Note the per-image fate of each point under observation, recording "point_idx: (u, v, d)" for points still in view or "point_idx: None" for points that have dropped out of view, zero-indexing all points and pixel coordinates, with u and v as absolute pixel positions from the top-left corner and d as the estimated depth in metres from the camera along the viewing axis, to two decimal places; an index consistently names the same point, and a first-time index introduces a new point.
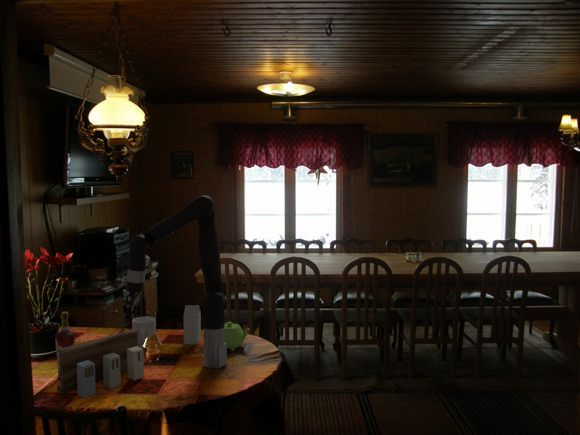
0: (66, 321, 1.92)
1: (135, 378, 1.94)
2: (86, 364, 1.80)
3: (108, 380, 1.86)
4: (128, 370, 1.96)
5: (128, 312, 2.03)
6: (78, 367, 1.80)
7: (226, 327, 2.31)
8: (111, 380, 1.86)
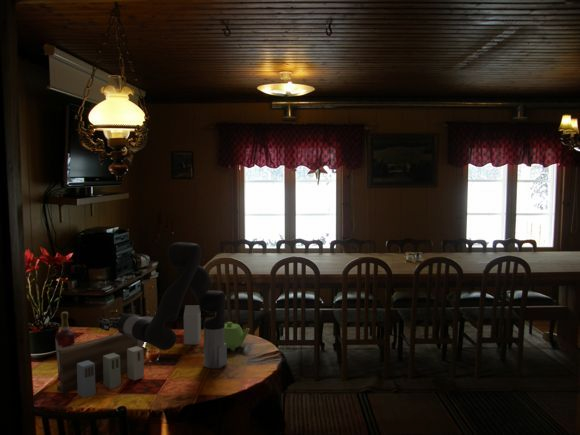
0: (66, 321, 1.92)
1: (135, 378, 1.94)
2: (86, 364, 1.80)
3: (108, 380, 1.86)
4: (128, 370, 1.96)
5: None
6: (78, 367, 1.80)
7: (226, 327, 2.31)
8: (111, 380, 1.86)
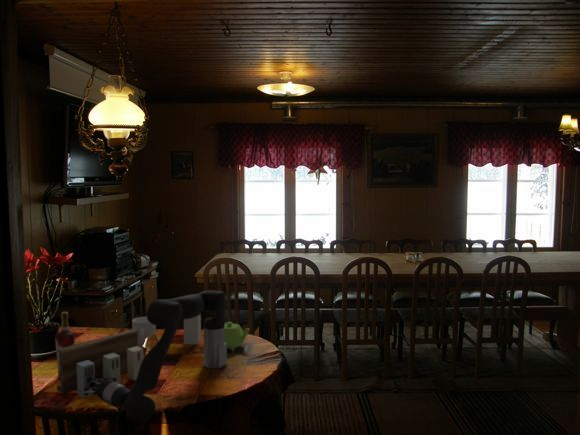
0: (66, 321, 1.92)
1: (135, 378, 1.94)
2: (86, 363, 1.80)
3: None
4: (128, 370, 1.96)
5: None
6: (78, 367, 1.80)
7: (226, 327, 2.31)
8: None
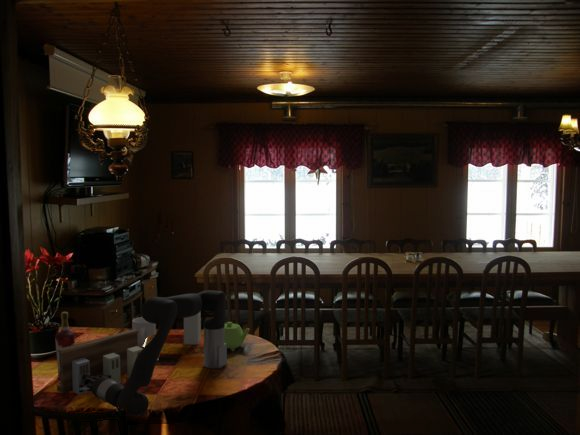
0: (66, 321, 1.92)
1: None
2: (81, 361, 1.82)
3: None
4: (128, 370, 1.96)
5: None
6: (73, 364, 1.82)
7: (226, 327, 2.31)
8: None
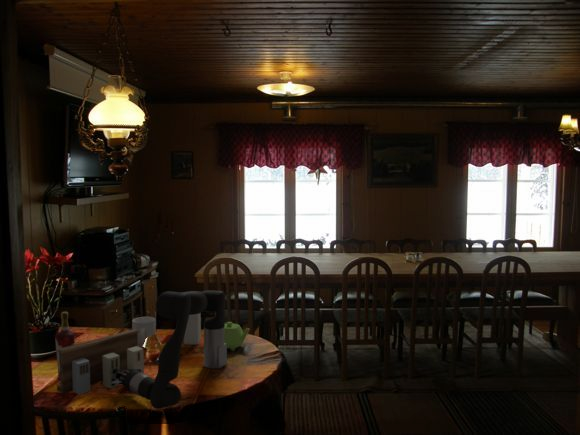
0: (66, 321, 1.92)
1: None
2: (81, 361, 1.82)
3: (107, 380, 1.87)
4: None
5: None
6: (73, 364, 1.82)
7: (226, 327, 2.31)
8: (110, 379, 1.86)
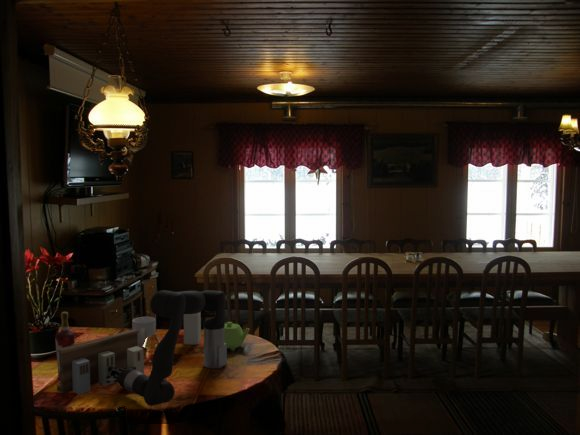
0: (66, 321, 1.92)
1: None
2: (81, 361, 1.82)
3: (103, 377, 1.89)
4: None
5: None
6: (73, 364, 1.82)
7: (226, 327, 2.31)
8: (105, 377, 1.89)
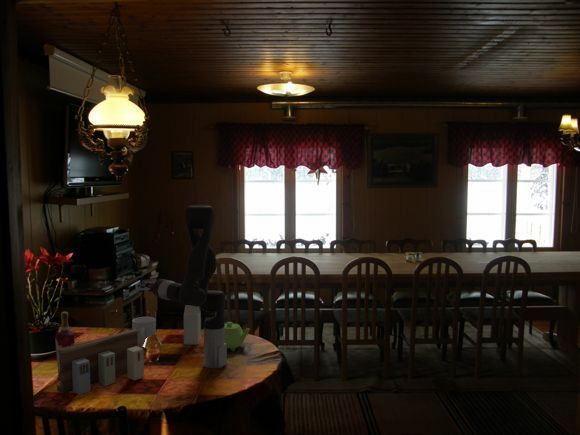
0: (66, 321, 1.92)
1: (135, 378, 1.94)
2: (81, 361, 1.82)
3: (103, 377, 1.89)
4: (128, 370, 1.96)
5: None
6: (73, 364, 1.82)
7: (226, 327, 2.31)
8: (105, 377, 1.89)
